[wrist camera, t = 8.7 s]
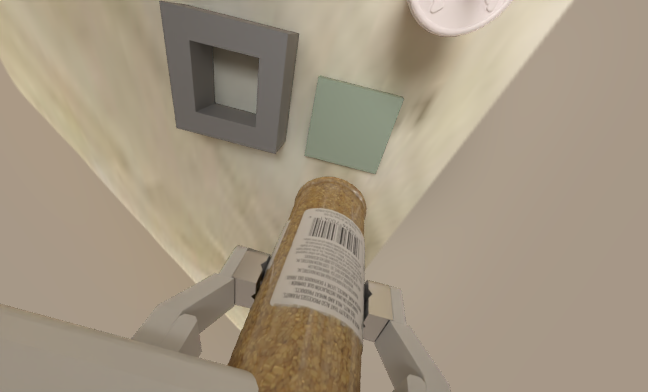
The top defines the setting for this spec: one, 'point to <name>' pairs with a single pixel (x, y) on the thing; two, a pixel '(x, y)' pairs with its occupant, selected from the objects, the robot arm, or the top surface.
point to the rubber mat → (351, 124)
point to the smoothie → (455, 15)
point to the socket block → (198, 75)
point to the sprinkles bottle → (311, 297)
